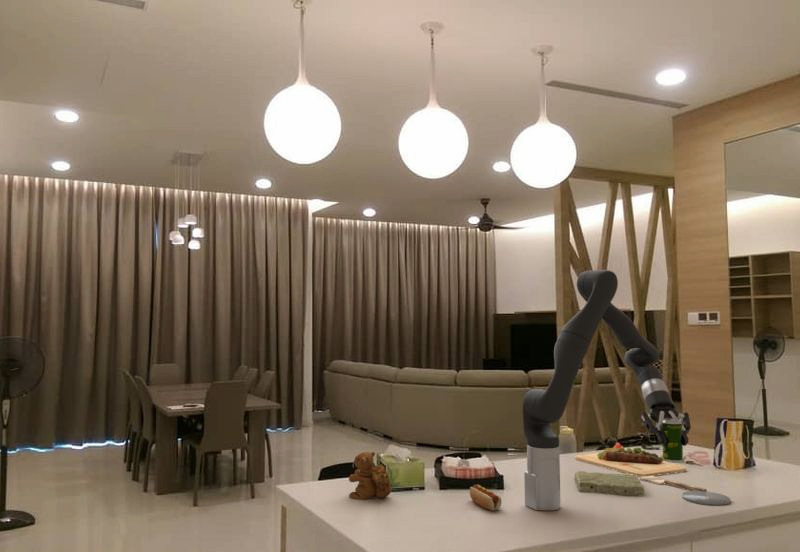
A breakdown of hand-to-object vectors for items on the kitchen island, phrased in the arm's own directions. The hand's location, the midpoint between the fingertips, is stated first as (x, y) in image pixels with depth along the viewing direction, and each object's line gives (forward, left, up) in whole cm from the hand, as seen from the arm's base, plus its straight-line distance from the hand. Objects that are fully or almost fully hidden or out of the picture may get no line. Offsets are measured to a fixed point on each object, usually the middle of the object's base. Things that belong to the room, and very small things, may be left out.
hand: (675, 443), depth 182 cm
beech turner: (+18, +21, -18) cm, 33 cm away
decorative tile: (-3, +26, -19) cm, 33 cm away
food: (-50, +21, -18) cm, 58 cm away
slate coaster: (+15, +4, -18) cm, 24 cm away
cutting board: (+26, +52, -19) cm, 61 cm away
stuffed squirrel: (-78, +42, -18) cm, 90 cm away
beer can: (+1, +2, -5) cm, 6 cm away
